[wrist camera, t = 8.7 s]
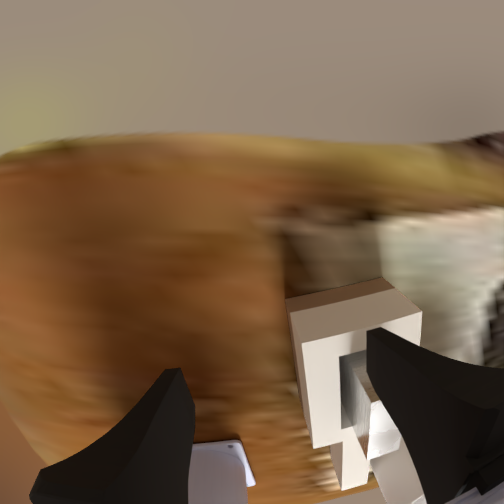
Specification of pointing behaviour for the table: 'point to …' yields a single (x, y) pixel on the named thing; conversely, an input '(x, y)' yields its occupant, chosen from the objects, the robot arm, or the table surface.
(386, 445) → the white upright block
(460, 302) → the table surface
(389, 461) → the mug
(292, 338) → the slotted upright plate
